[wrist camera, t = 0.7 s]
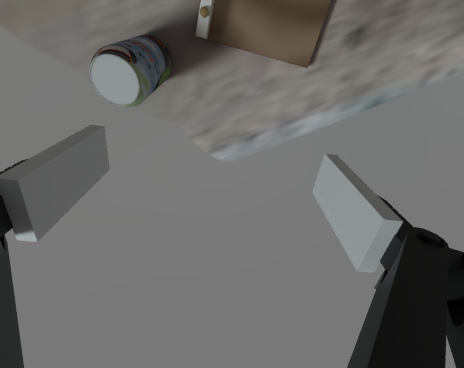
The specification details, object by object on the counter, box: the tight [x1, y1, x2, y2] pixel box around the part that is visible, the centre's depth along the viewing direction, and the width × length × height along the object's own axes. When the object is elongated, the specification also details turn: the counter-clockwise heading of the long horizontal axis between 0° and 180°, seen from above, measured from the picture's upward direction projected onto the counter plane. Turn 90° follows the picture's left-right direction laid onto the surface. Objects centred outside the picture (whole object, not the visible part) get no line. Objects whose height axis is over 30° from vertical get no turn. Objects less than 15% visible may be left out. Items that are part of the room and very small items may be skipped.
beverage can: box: [90, 35, 172, 107], centre depth 29 cm, size 6×7×12 cm
